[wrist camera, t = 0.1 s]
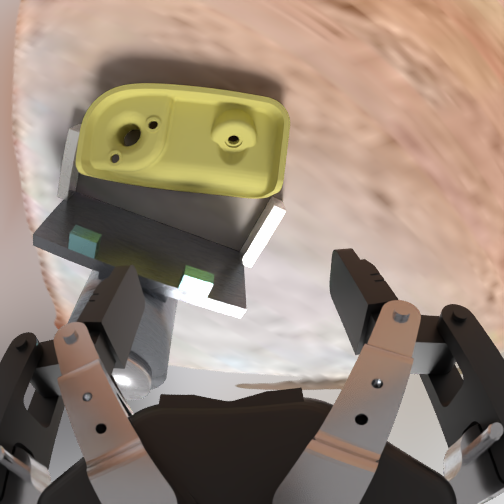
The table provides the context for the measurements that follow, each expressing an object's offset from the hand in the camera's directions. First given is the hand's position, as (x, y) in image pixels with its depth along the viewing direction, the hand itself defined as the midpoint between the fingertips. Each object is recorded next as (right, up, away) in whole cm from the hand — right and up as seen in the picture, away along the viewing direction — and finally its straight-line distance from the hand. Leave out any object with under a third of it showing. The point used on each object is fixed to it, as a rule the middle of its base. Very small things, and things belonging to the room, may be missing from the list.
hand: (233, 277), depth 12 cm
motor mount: (-12, +3, +25) cm, 28 cm away
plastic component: (-6, +14, +18) cm, 23 cm away
